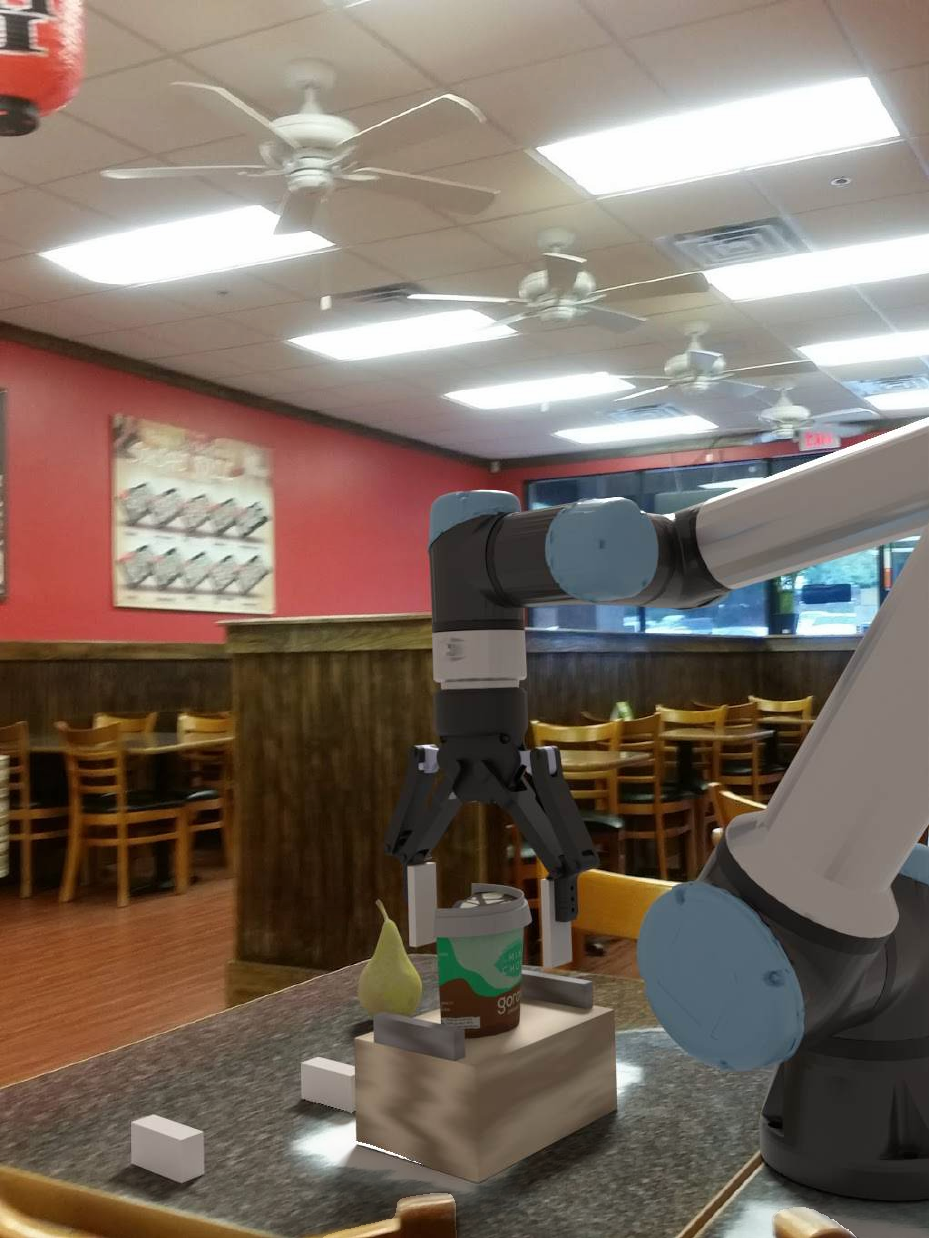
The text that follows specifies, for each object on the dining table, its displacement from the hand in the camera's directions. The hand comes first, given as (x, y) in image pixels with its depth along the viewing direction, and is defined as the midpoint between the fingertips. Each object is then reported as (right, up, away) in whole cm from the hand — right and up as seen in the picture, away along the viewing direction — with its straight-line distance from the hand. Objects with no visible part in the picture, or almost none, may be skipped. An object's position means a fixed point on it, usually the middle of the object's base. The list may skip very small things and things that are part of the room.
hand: (487, 954), depth 96 cm
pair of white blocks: (-18, -14, -1) cm, 23 cm away
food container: (+1, -6, 0) cm, 6 cm away
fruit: (-10, -15, +30) cm, 35 cm away
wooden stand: (0, -13, -1) cm, 13 cm away
